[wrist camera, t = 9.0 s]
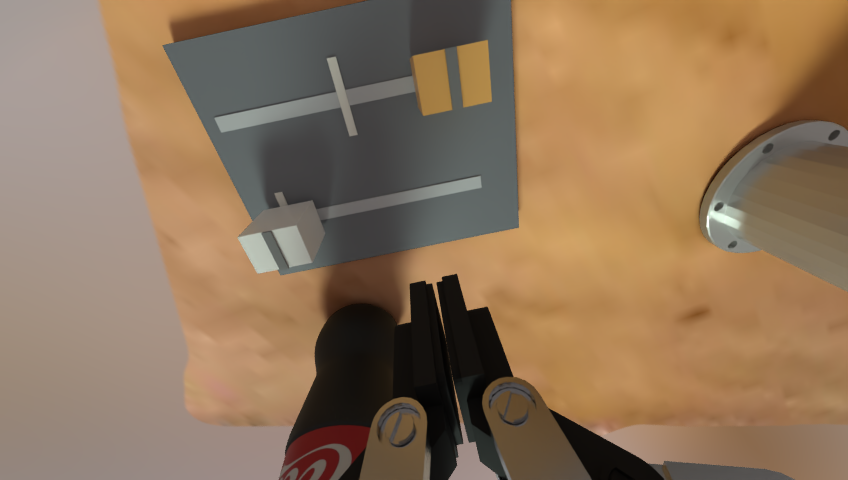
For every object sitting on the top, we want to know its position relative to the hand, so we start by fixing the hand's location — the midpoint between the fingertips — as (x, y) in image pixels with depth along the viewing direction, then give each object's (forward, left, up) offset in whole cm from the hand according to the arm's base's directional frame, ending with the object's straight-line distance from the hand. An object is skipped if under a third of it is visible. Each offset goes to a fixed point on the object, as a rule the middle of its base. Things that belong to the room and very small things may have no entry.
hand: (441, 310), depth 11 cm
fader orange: (-3, -7, -15) cm, 17 cm away
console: (+3, -3, -17) cm, 17 cm away
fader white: (+10, +1, -15) cm, 18 cm away
